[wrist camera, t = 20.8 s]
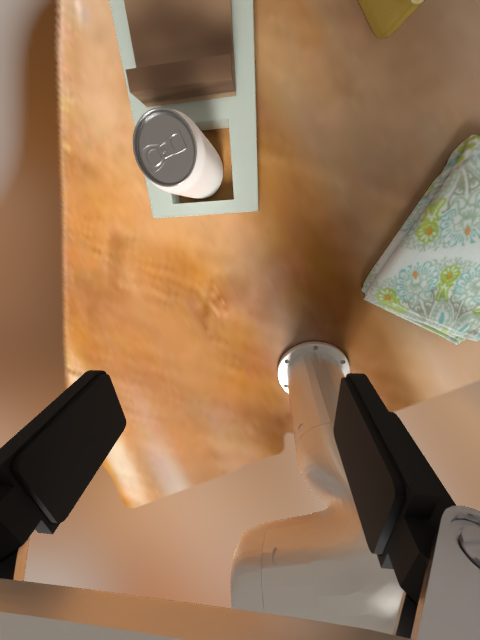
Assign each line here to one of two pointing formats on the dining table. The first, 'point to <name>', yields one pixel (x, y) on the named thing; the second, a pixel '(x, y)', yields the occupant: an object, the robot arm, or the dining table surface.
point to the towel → (437, 255)
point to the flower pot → (387, 14)
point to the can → (176, 154)
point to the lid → (181, 50)
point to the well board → (211, 118)
